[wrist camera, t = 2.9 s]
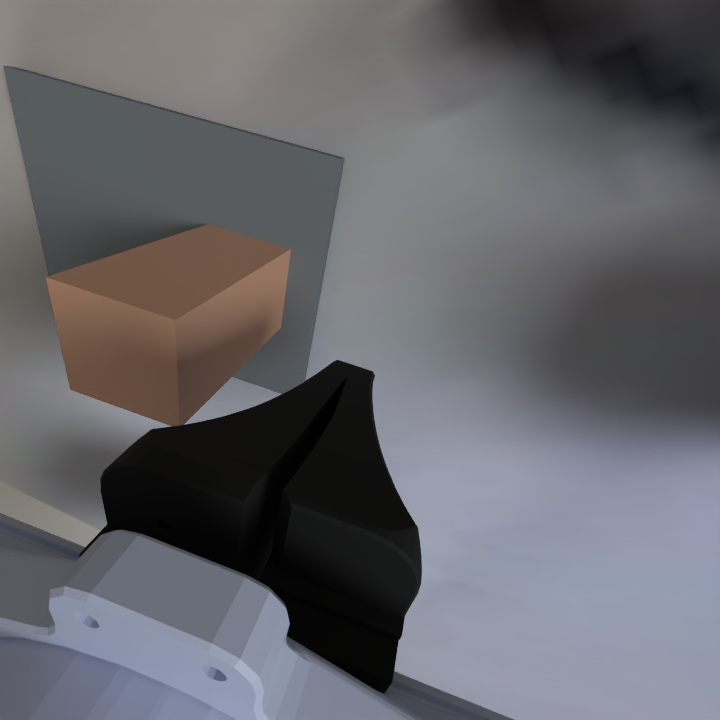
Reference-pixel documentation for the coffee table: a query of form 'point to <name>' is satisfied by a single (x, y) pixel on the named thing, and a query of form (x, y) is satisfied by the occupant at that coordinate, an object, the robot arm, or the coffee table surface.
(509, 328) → the coffee table surface
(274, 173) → the mat
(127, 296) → the tall block
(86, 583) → the robot arm
